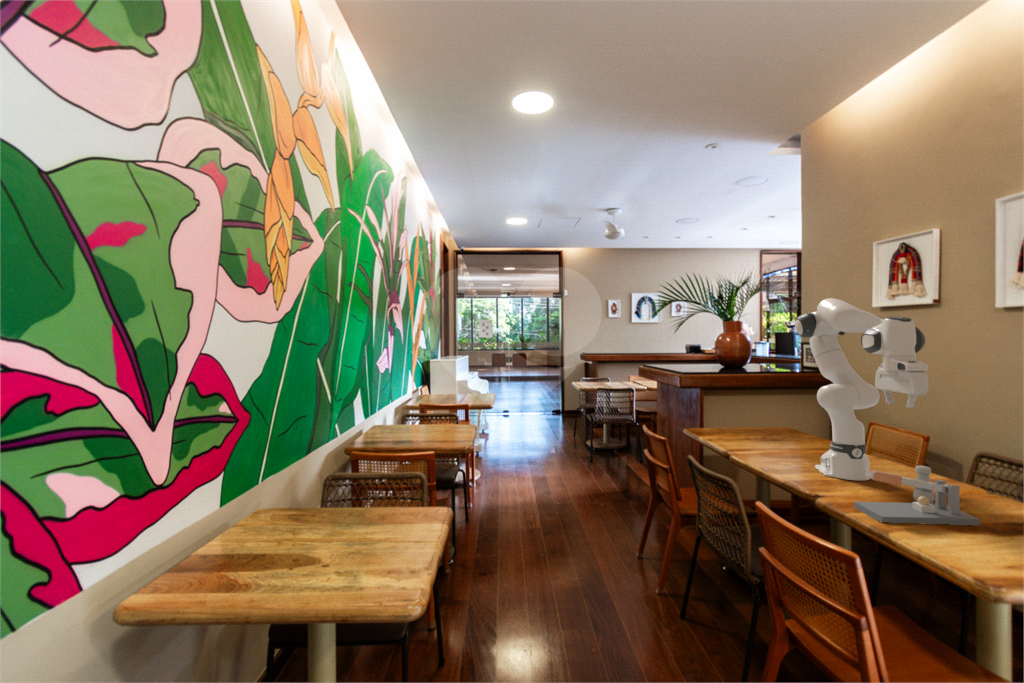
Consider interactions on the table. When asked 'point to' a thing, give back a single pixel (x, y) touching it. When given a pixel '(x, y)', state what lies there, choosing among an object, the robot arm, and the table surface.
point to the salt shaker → (924, 476)
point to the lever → (906, 481)
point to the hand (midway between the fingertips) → (899, 405)
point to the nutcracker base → (913, 514)
